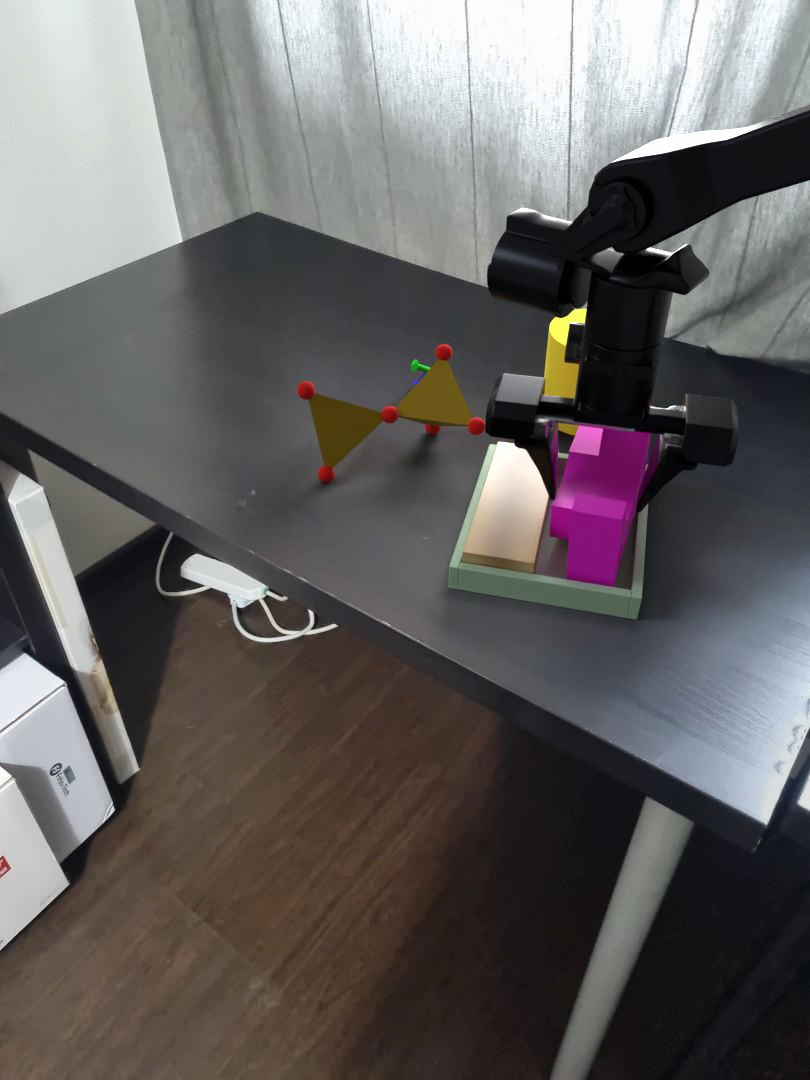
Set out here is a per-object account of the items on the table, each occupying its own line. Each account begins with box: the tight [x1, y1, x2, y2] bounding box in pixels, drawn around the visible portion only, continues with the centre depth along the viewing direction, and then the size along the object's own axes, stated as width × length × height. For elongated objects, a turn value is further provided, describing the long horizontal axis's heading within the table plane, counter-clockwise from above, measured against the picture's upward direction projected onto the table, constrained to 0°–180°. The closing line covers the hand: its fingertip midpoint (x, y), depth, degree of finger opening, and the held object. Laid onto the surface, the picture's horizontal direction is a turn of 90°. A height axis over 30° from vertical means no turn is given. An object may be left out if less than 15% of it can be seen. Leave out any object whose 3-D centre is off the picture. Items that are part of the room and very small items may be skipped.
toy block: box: [550, 405, 656, 587], centre depth 69 cm, size 15×6×8 cm, turn 158°
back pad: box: [462, 441, 560, 574], centre depth 73 cm, size 6×16×3 cm, turn 165°
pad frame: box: [447, 443, 649, 621], centre depth 72 cm, size 15×18×2 cm
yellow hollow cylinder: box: [543, 308, 587, 437], centre depth 85 cm, size 10×10×9 cm
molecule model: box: [296, 343, 486, 484], centre depth 82 cm, size 16×18×12 cm
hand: (595, 503), depth 70 cm, fingers open, 7 cm apart
